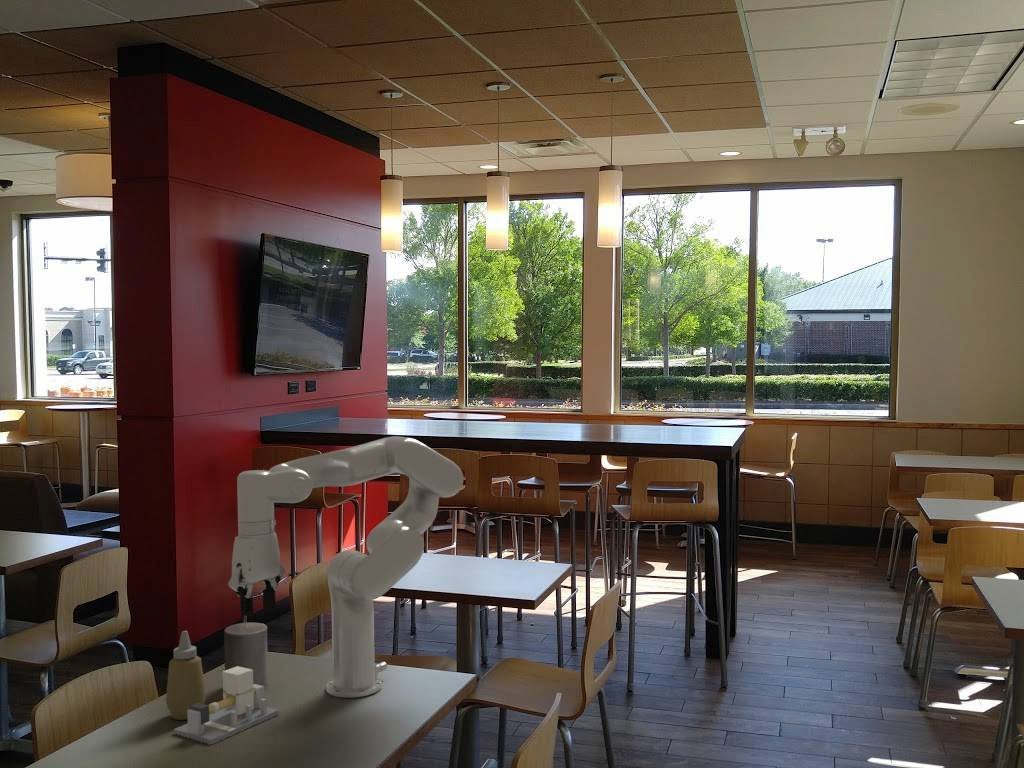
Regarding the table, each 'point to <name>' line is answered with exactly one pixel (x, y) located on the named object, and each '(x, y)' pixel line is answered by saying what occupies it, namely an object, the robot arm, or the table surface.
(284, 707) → the table surface
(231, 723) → the gray assembly board
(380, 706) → the table surface
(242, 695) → the white block
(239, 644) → the pillar candle
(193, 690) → the squeeze bottle
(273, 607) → the robot arm
